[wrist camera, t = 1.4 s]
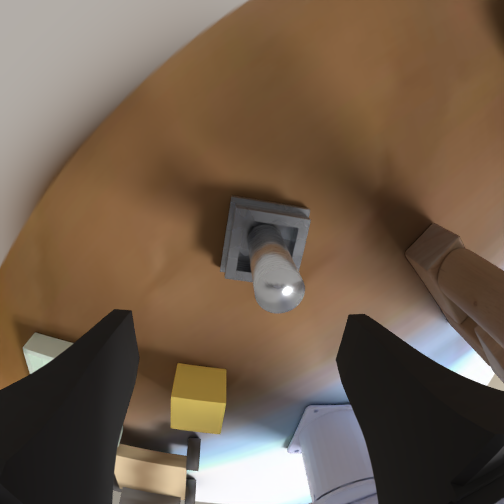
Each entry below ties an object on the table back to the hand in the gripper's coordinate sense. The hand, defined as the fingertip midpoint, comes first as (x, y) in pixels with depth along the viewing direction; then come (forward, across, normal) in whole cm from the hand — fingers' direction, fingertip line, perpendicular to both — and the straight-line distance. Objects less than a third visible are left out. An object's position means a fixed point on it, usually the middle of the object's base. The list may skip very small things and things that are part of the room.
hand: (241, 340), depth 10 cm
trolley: (+10, +8, +27) cm, 30 cm away
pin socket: (+11, -2, +1) cm, 11 cm away
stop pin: (+11, -2, +1) cm, 11 cm away
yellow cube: (+11, +2, +14) cm, 18 cm away
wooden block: (+11, -18, +3) cm, 21 cm away
